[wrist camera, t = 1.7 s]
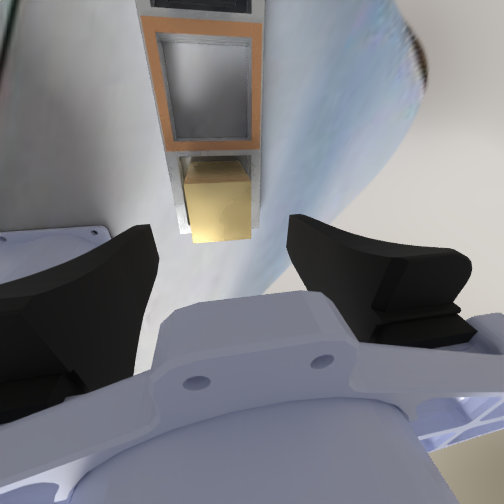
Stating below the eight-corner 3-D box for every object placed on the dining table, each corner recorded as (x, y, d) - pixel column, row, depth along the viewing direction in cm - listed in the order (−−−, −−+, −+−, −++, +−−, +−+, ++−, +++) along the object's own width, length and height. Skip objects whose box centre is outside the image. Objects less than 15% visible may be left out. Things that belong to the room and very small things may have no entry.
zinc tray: (182, 223, 21) (180, 234, 19) (108, -178, 10) (86, -242, 8) (255, 218, 22) (259, 228, 20) (260, -150, 11) (270, -202, 9)
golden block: (196, 207, 20) (193, 243, 15) (190, 161, 18) (183, 184, 13) (239, 205, 21) (251, 238, 16) (238, 160, 19) (251, 181, 13)
